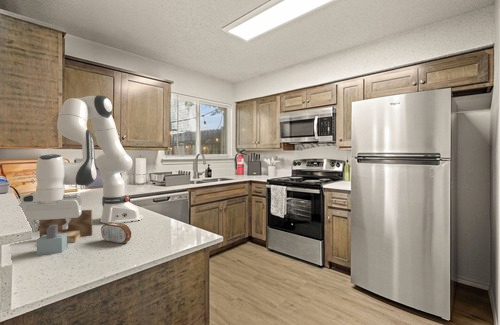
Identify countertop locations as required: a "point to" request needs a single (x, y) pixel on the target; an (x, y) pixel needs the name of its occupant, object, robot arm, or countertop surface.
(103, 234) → the tin
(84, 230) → the brown wooden piece
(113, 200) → the robot arm
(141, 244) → the countertop surface
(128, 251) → the countertop surface
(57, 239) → the blue block with handle
